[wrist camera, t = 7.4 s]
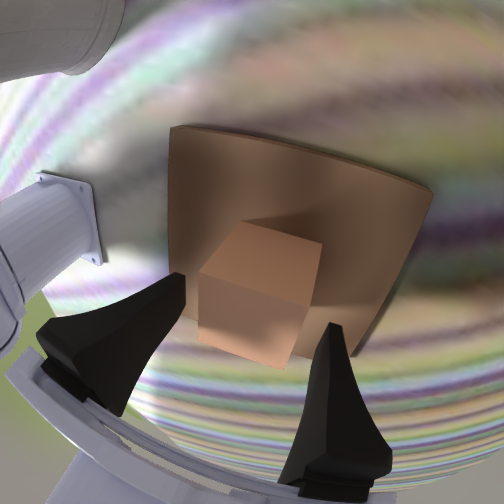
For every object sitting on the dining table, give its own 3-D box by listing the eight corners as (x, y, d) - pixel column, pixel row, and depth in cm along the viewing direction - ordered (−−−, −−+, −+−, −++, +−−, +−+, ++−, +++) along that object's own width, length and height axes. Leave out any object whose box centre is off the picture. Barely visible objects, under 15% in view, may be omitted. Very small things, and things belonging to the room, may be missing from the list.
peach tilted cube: (232, 284, 18) (198, 340, 14) (240, 220, 15) (198, 271, 11) (301, 305, 17) (283, 370, 13) (322, 244, 14) (309, 306, 10)
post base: (178, 303, 22) (144, 347, 18) (179, 125, 14) (117, 142, 10) (343, 357, 19) (335, 414, 15) (428, 188, 12) (464, 232, 7)
